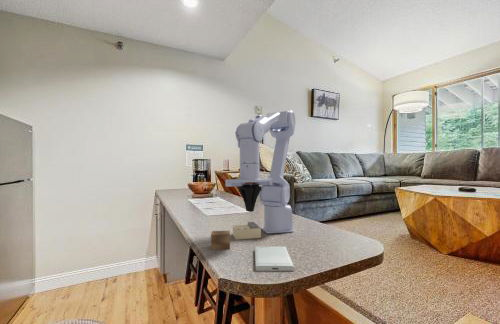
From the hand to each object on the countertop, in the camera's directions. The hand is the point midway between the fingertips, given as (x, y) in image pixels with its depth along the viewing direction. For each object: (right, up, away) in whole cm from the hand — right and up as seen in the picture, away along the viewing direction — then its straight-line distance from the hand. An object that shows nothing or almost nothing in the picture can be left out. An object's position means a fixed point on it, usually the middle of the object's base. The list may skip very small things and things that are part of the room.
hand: (249, 211), depth 66 cm
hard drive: (+5, -10, -12) cm, 16 cm away
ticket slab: (-1, -10, +7) cm, 12 cm away
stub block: (-8, -9, -3) cm, 13 cm away
